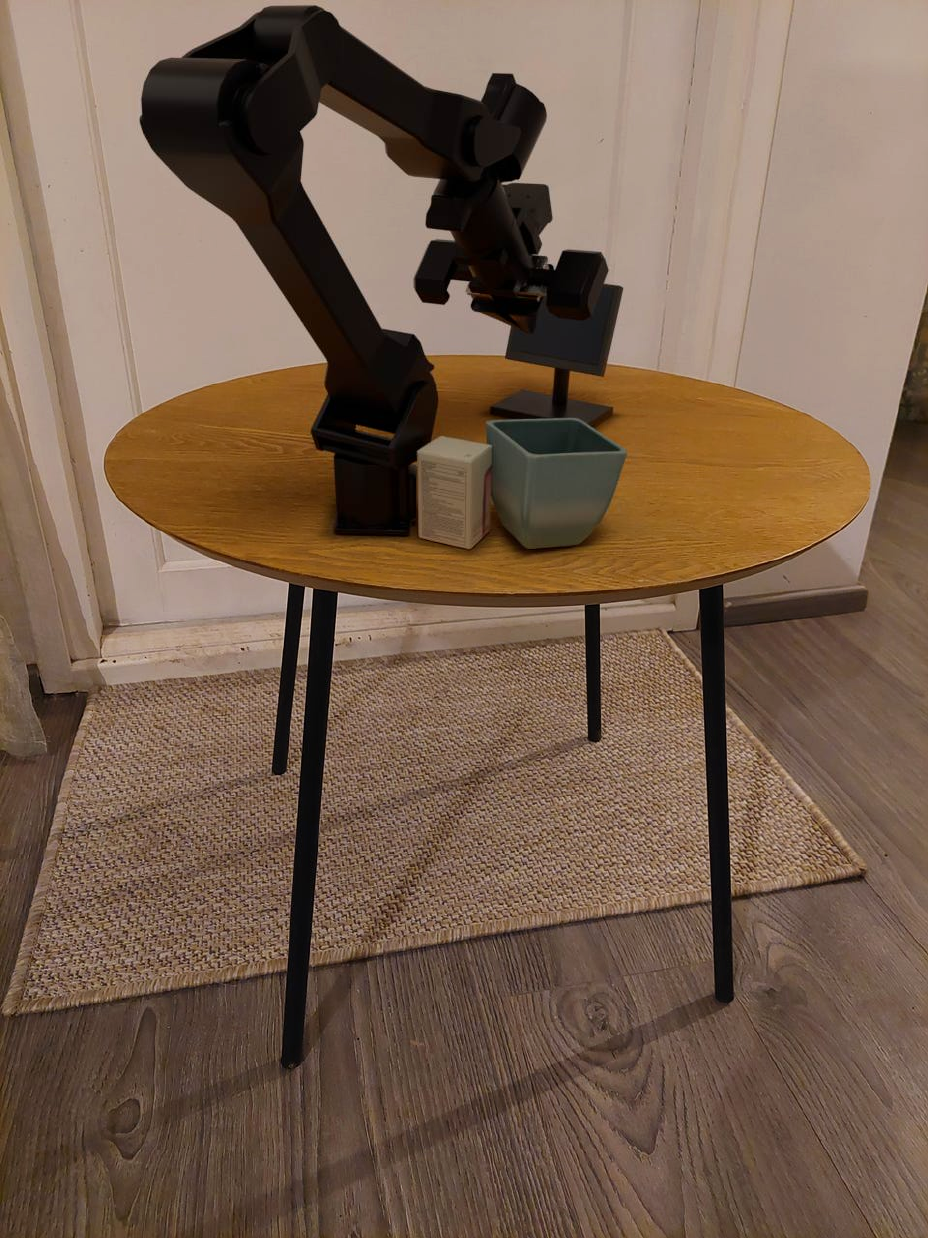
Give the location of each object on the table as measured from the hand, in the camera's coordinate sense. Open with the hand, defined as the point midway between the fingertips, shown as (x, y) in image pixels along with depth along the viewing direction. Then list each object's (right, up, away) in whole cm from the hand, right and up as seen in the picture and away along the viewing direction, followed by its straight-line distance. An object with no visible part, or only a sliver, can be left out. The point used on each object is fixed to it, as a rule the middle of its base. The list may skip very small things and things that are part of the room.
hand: (531, 329), depth 95 cm
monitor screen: (+3, -2, +7) cm, 8 cm away
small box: (-8, -23, -17) cm, 30 cm away
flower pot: (0, -23, -18) cm, 29 cm away
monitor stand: (+3, -6, +11) cm, 13 cm away
